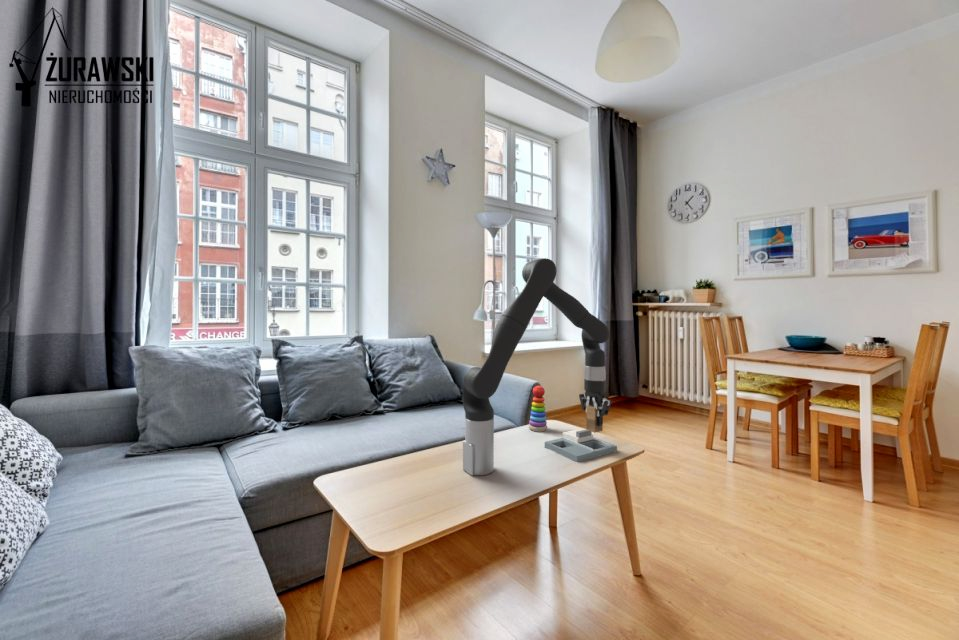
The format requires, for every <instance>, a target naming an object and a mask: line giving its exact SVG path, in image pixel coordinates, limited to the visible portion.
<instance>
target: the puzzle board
mask: <svg viewBox="0 0 959 640" xmlns="http://www.w3.org/2000/svg"><path fill="white" fill-rule="evenodd" d="M591 447H592V448H591ZM544 448H545V449H548V450H550V451H552V452H554V453H556V454H559V455H561V456H563V457H565V458H567V459H569V460H572V461H574V462H577V463H579V462H583V461H586V460H590V459H593V458H597V457H601V456H604V455H607V454H608V455H609V454H612V453H615V452H617V451H618V446H617V445H615V444H613V443H611V442H607V441H605V440H602V439H599V438H597V437H594V436H593V440H589V441H585V442H581V443H577V442H574V441H572V440H569V439H567V438H563V437H560V438H557V439H551V440H547V441H544ZM593 448H595V449H593ZM597 448H598V449H597Z"/></svg>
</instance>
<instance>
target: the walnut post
mask: <svg viewBox="0 0 959 640" xmlns="http://www.w3.org/2000/svg"><path fill="white" fill-rule="evenodd" d="M598 407H600V406H598ZM599 411H600V410H599ZM596 419H597V413H596V409H595V408H594V406H593V405H590V406H587V420H586V429H587V430H589V431H591V432H592V433H600V432H603V429H604V428H603V424H604V423H603V424H602V426H599V427H598V426H597V425H596Z"/></svg>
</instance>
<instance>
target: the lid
mask: <svg viewBox="0 0 959 640" xmlns="http://www.w3.org/2000/svg"><path fill="white" fill-rule="evenodd" d="M592 433H593V432H591V431H589V430H587V428H586V429H582V430H580V429H574V430H573V429H572V430H569V431H563V432H562V438H567V439H569V440H572V441H574V442H577V443H581V442H585V441H589V440H593V437H594V434H592Z"/></svg>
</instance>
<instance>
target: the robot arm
mask: <svg viewBox="0 0 959 640" xmlns="http://www.w3.org/2000/svg"><path fill="white" fill-rule="evenodd" d="M557 271H558V270H557V266H556V264H555V262H554V261H553V260H551V259H550V258H538V259H534V260H532V261H529V262H527V263H526V264H524V266H523V267H522V271H521V276H522V279H523V281H524V282H525V285H524V288H523V289H522V290H521V292H520V293H519V294H518V296H516V297H515V299H513V300H512V301H511V302H510V303H509V304H508V306H507V307H506V308H505V310H504V311H503V312H502V314H501V315H500V318H499V320H498V322H497V323H496V324H495V328H494V330H493V334H492V340H491V347H490V350H489V353H488V355H487V357H486V359H485V361H484V362H483V365H482V366H481V367H478V366H474V367H473V366H472V367H471V368H469V369H467V371H465V374H464V375H463V379H462V405H463V406H462V407H463V411H464V413H465V414H464V416H465V417H464V420H465V424H464V425H465V427H464V430H465V431H464V433H465V435H464V437H465V438H464V439H465V440H464V439H463V440H462V470H463V471H464V472H466V473H467V474H468V475H470V476H485V475H486V476H487V475H490V474H491V473H493V472H494V469H495V467H494V464H495V462H494V460H495V459H494V457H495V456H494V454H495V452H494V450H495V445H494V443H495V441H494V440H495V439H494V438H495V437H494V435H495V434H494V433H495V431H494V430H495V426H494V425H495V422H494V421H495V419H494V418H495V412H494V408H493V406H492V404H491V402H490V398H491V397H492V396H493V395H494V394H495V393H496V391H497V390H498V388H499V385H500V383H501V381H502V378H503V375H504V373H505V371H506V369H507V366H508V364H509V362H510V360H511V358H512V357H513V354H514V352H515V350H516V348H517V346H518V344H519V343H520V341H521V339H522V337H523V336H524V334H525V332H526V330H527V329H528V325H530V324H529V323H530V321H531V320H532V318H533V316H534V314H535V313H536V311H537V308H538V306H539V305H540V303H541V301H542V300H543V298H545V299H546V300H548V302H550V303H551V304H552V305H553V306H555V308H557V310H559V311H560V312H561V313H562V314H563V315H564V316H565V318H567V319H568V320H569V321H570V322H571V324H573V326H575V327H576V328H578V329H581V343H582V346H583V350H584V353H585V354H584V355H585V356H584V361H585V362H584V371H583V372H584V373H583V374H584V375H583V376H584V377H583V379H584V380H583V381H584V384H583V390H584V391H585V392H584V393H580V394H579V395H578V396H579V402H580V407H581V410H582V411H585V413H586V416H585V417H586V418H585V421H587V406H590V405H593V406H594V408H595V409H596V413H597V419H596V425H597V426H598V427H599V426H602V424H604V416H607V415H608V414H609V411H610V408H611V405H612V400H611V399H607V398H606V396H605V392H606V391H607V390H606V384H607V382H606V379H607V378H606V377H607V374H606V352H605V351H604V350H603V349H601V348H600V344H604V343H607V341H608V340H609V338H610V330H609V328H608V326H607V324H606V323H604V321H602V320H600V319H599V318H597V317H596V316H595V315H593V314H592V313H591V312H590V311H589V310H588V309H587V308H586V307H585V306H584V305H583V304H582V303H581V302H580V301H579V300H578V299H577V298H575V296H573V295H571V294H570V293H568V292H567V291H565V290H563V289H562V288H561V287H560V286H558V285H557V284H556V282H555V283H554V281H555V280H556V278H557ZM598 406H600V407H598ZM599 410H600V411H599Z"/></svg>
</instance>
